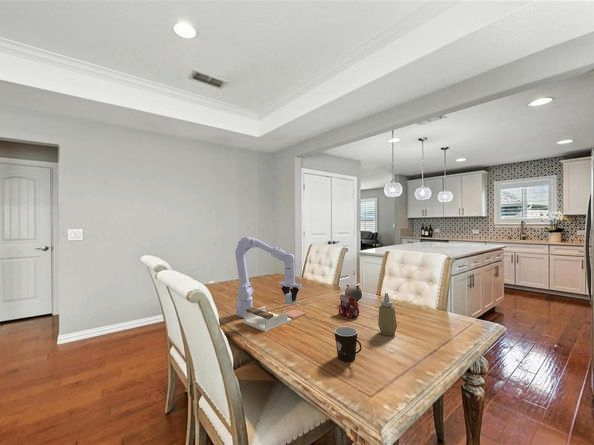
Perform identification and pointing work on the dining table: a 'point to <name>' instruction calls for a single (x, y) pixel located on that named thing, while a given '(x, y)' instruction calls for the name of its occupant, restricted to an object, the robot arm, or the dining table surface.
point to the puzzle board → (262, 322)
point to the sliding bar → (259, 313)
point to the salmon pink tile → (295, 314)
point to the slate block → (289, 299)
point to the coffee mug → (346, 343)
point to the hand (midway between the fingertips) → (290, 300)
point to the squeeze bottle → (387, 317)
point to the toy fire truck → (348, 306)
